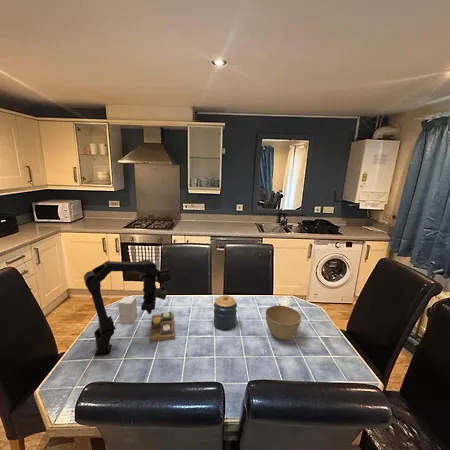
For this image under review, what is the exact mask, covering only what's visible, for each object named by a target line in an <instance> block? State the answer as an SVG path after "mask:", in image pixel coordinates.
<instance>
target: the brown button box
mask: <svg viewBox="0 0 450 450" xmlns="http://www.w3.org/2000/svg"><path fill="white" fill-rule="evenodd" d="M167 312H168V313H170V317H167V318H163V314H164V313H166V312H160V314H155V315H154V314H153V315H152V316H151V320H150V336H149V343H155V342H164V341H171V340H175V339H176V338H175V316H174V315H175V314H174V313H173V312H172V311H167ZM154 317H160V322H161V323H160V324H159V325H154V324H153V318H154ZM164 325H170V330H168V331H163V326H164Z"/></svg>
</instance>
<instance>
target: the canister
mask: <svg viewBox="0 0 450 450" xmlns="http://www.w3.org/2000/svg"><path fill="white" fill-rule="evenodd" d="M237 307H238V304H237V301H236V299H235V298H234V297H232V296H230V295H227V294H224V295H221V296H218V297H216V298H215V301H214V303H213V326H214V327H215V328H216V329H218V330H220V331H231V330H233V329H234V328H235V327H236V325H237V312H238V311H237Z"/></svg>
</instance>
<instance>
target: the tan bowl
mask: <svg viewBox="0 0 450 450" xmlns="http://www.w3.org/2000/svg"><path fill="white" fill-rule="evenodd" d="M265 321H266V325H267V327H268V329H269V332H270V333H271V334H272V336H274V338H276V339H278V340H281V341H282V340H283V341H285V340H288V339H290V338H291V337H293V336H294V335H295V333H296V332H297V331H298V329H299V327H300V325H301V321H302V315H301V313H300V312H298V310H296V309H294V308H293V307H290V306H287V305H272V306H269V307H268V308H266V309H265Z"/></svg>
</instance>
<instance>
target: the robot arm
mask: <svg viewBox="0 0 450 450" xmlns="http://www.w3.org/2000/svg"><path fill="white" fill-rule="evenodd" d="M111 272H138V273H140V274H139V276H138V277H139V279H140V280H143V288H142V292H143V297H142V299H143V301H142V302H141V306H140V310H141V311H146V312H147V313H148V315H151V314H152V311H154V310H156V301H157V298H158V299H160V300H163V301H164V300H166V297H167V295H168V290H167V289H166V287H165V285H161V286H160V287H157V284H156V283H158V285H159V284H164V283H168V282H171V280H172V276H171V272H170V269H169V268H164V269H157V265H156V264H155V262H154V261H152V260H150V259H143V260H139V261H110V260H106V261H105V262H104V263H102V264H101V265H98V266H97V267H94V268H93V269H92V270H89V271H87V272H86V273H85V274H84V275H83V281H84V284H85V286H86V289H87V291H88V292H89V293H90V295H91V298H92V301H93V304H94V308H95V311H96V314H97V317H98V320H97V323H98V325H97V326H98V327H97V329H96V330H95V331H94V332H93V335H94V338H95V347H96V350H95V351H94V357H98V356H99V357H100V356H107V355H108V356H109V355H110V353H111V350H112V347H113V344H110V341H111V339H112V336H114V334H115V330H116V326H115V325H114V324H115V323H114V320H113V317H112V316H111V315H110V316H108V314H107V310H106V307H105V304H104V300H103V297H102V293H101V287H102V286H101V285H102V284H101V282H102V281H104V280H105V279H106V277H108V275H109V274H111Z"/></svg>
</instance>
